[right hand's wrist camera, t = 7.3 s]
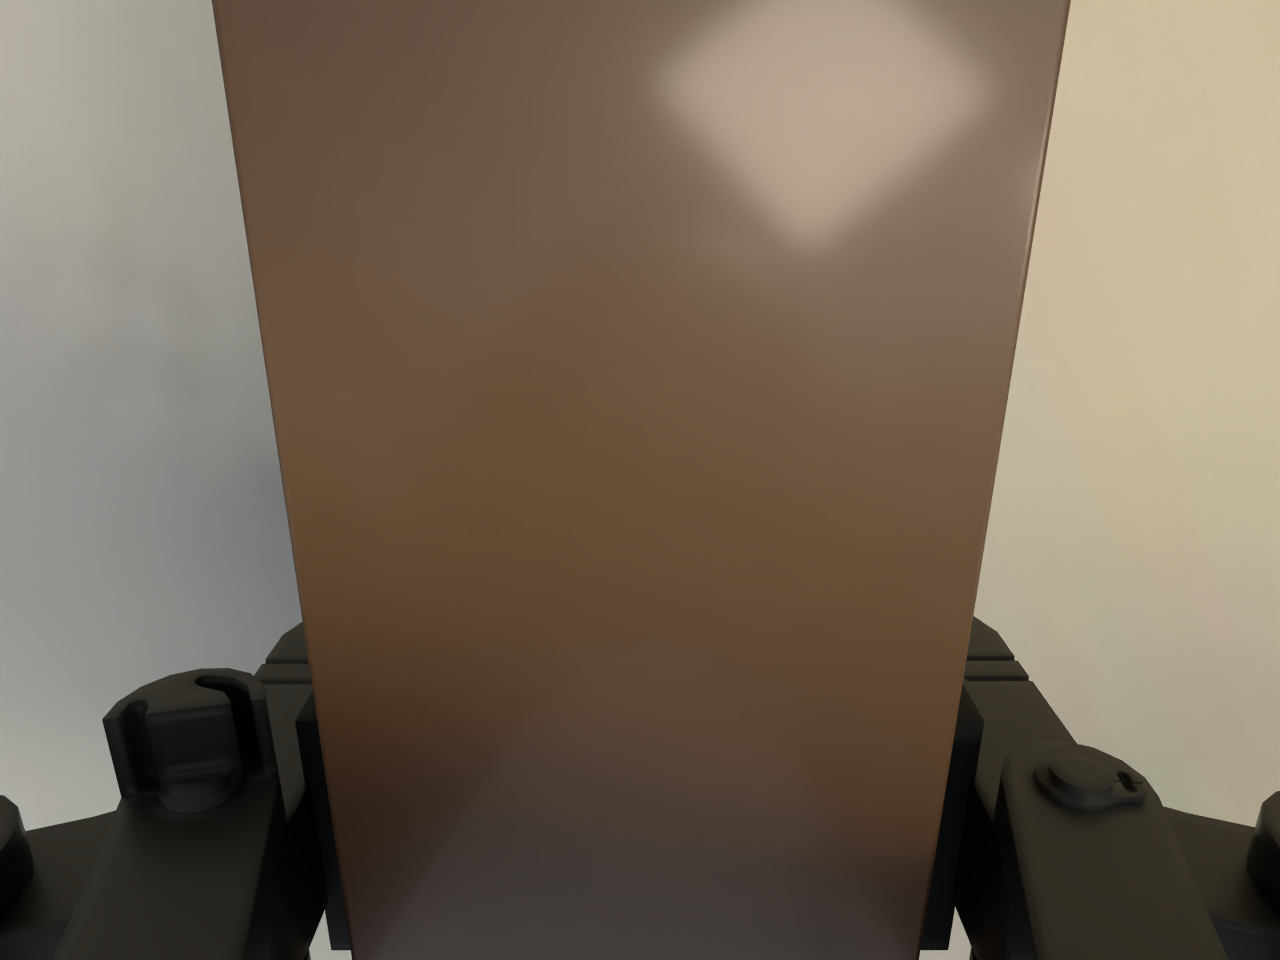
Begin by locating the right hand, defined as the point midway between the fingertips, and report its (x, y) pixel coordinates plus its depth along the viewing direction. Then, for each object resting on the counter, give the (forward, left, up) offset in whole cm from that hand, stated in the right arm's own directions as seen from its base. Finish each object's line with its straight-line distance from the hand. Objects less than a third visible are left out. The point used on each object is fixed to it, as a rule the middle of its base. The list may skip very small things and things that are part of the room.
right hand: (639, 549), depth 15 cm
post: (+7, -23, -1) cm, 24 cm away
